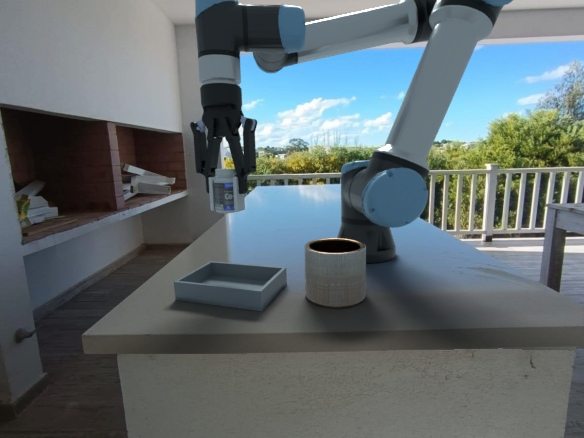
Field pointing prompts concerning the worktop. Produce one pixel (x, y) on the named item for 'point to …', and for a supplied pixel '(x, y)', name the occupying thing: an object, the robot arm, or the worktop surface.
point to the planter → (335, 272)
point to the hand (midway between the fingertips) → (227, 209)
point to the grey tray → (232, 285)
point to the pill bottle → (224, 190)
